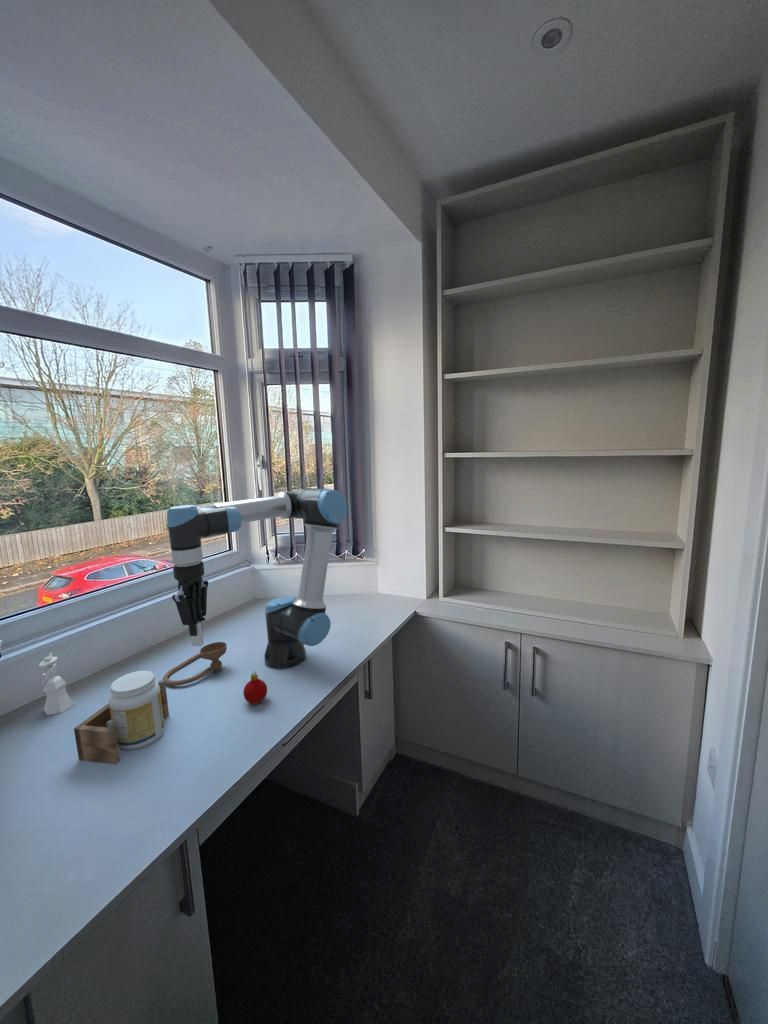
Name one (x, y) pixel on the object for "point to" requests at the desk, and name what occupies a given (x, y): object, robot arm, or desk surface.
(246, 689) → the christmas ornament
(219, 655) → the brown curved horn
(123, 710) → the supplement tub
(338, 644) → the desk surface
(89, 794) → the desk surface
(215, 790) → the desk surface
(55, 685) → the figurine
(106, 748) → the walnut holder
